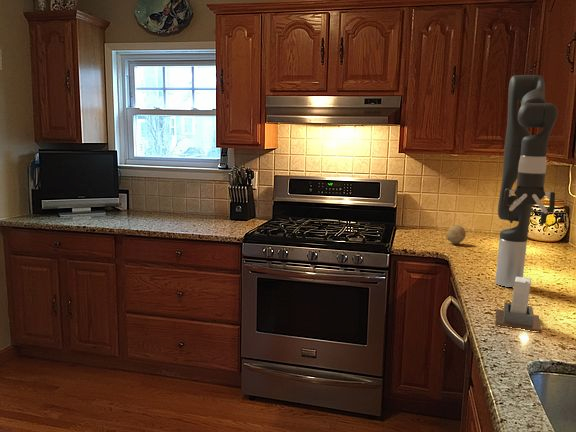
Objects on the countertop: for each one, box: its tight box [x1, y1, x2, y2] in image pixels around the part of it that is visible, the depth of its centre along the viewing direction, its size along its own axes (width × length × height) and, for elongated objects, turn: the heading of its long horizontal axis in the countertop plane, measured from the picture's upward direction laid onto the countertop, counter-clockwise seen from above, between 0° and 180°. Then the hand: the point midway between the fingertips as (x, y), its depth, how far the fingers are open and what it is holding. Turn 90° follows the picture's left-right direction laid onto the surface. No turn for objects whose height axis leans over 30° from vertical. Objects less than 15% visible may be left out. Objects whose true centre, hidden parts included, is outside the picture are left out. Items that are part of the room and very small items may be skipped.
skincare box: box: [510, 276, 532, 314], centre depth 151 cm, size 6×4×12 cm
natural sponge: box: [446, 224, 466, 245], centre depth 260 cm, size 9×9×10 cm
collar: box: [494, 302, 543, 333], centre depth 152 cm, size 13×12×4 cm
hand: (526, 223), depth 158 cm, fingers open, 8 cm apart
